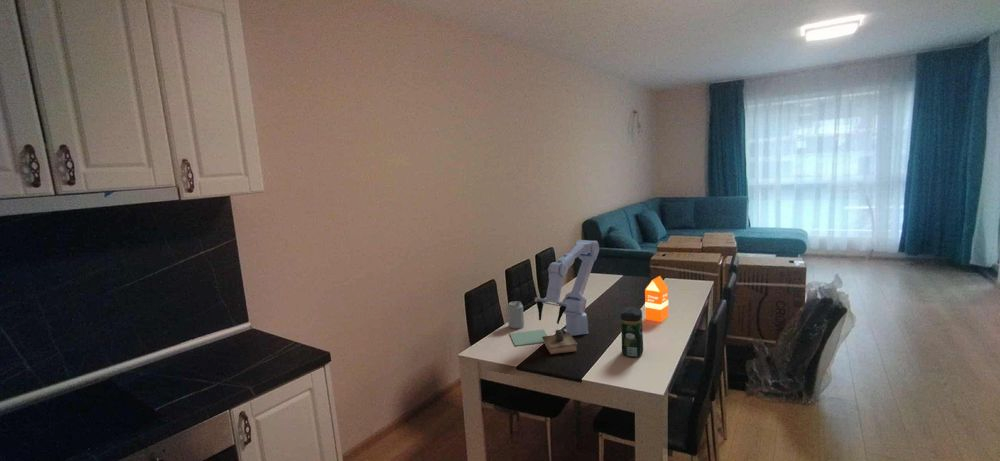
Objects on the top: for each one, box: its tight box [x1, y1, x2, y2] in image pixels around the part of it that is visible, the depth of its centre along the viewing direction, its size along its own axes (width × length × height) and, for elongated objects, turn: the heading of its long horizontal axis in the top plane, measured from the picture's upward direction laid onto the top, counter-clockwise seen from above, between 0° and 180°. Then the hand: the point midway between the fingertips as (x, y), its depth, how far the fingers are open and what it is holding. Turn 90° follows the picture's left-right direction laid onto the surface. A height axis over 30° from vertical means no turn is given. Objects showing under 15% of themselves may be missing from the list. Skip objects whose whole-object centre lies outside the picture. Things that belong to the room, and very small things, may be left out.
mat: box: [509, 329, 548, 347], centre depth 202 cm, size 16×14×1 cm
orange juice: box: [644, 275, 669, 323], centre depth 215 cm, size 8×9×20 cm
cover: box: [542, 329, 579, 349], centre depth 189 cm, size 12×12×5 cm
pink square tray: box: [543, 341, 577, 355], centre depth 190 cm, size 11×11×2 cm
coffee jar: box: [620, 306, 644, 358], centre depth 179 cm, size 10×8×19 cm
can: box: [507, 300, 525, 330], centre depth 217 cm, size 8×8×12 cm
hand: (548, 322), depth 190 cm, fingers open, 7 cm apart
